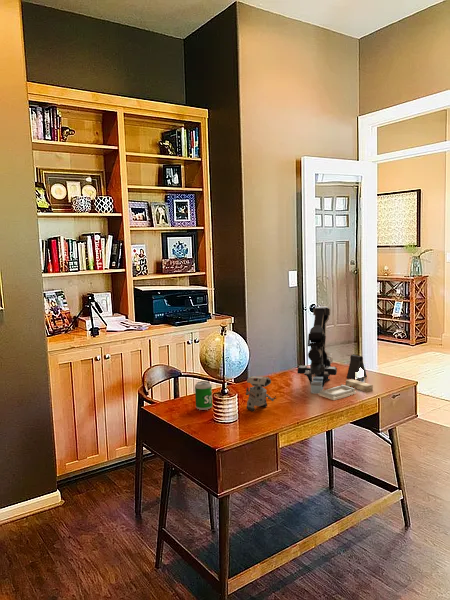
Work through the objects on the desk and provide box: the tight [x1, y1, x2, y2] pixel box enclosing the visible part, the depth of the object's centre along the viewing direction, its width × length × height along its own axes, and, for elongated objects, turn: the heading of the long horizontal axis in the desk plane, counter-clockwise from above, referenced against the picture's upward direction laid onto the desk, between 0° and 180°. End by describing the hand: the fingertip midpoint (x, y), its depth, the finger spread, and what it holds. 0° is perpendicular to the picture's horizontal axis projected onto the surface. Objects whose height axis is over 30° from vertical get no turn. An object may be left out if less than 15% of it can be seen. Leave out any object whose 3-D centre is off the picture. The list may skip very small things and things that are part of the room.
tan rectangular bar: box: [345, 378, 374, 393], centre depth 245 cm, size 14×4×3 cm, turn 32°
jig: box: [318, 384, 357, 401], centre depth 236 cm, size 15×10×2 cm, turn 123°
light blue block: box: [310, 376, 324, 395], centre depth 244 cm, size 12×5×5 cm, turn 163°
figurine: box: [245, 375, 277, 412], centre depth 219 cm, size 9×12×15 cm
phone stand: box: [346, 354, 368, 379], centre depth 263 cm, size 9×6×12 cm, turn 124°
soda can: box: [194, 380, 213, 411], centre depth 223 cm, size 8×8×12 cm
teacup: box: [325, 350, 333, 367], centre depth 277 cm, size 12×15×10 cm
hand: (317, 387), depth 244 cm, fingers closed on light blue block, 5 cm apart
